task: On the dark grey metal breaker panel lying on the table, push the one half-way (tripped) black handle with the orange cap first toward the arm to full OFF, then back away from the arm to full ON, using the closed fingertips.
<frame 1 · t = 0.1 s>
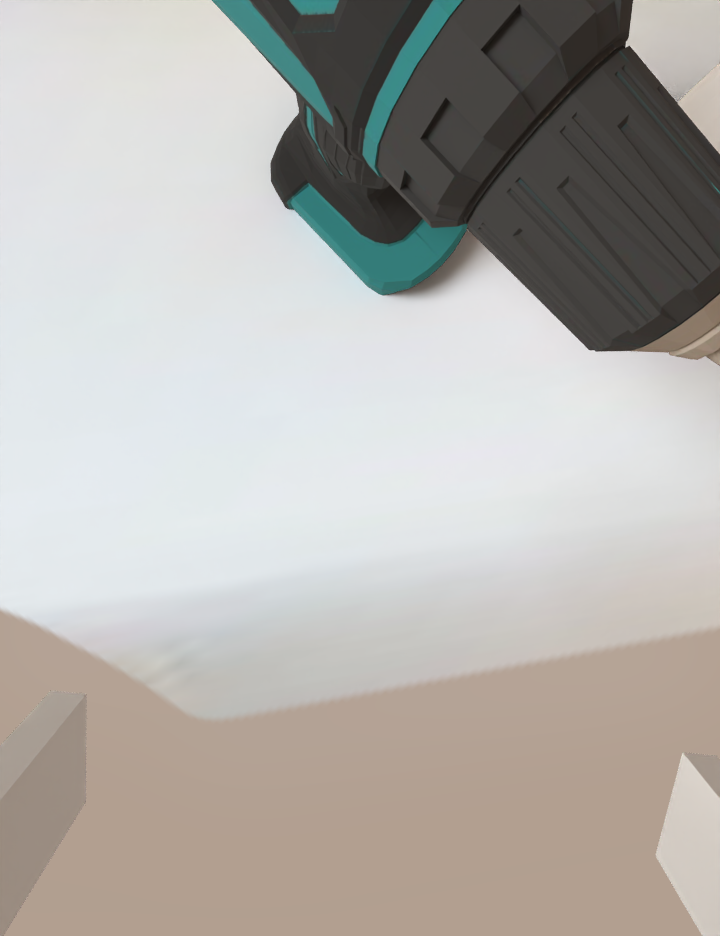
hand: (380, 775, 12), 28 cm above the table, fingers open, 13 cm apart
cup: (699, 162, 35), on the table
power drill: (392, 218, 36), on the table
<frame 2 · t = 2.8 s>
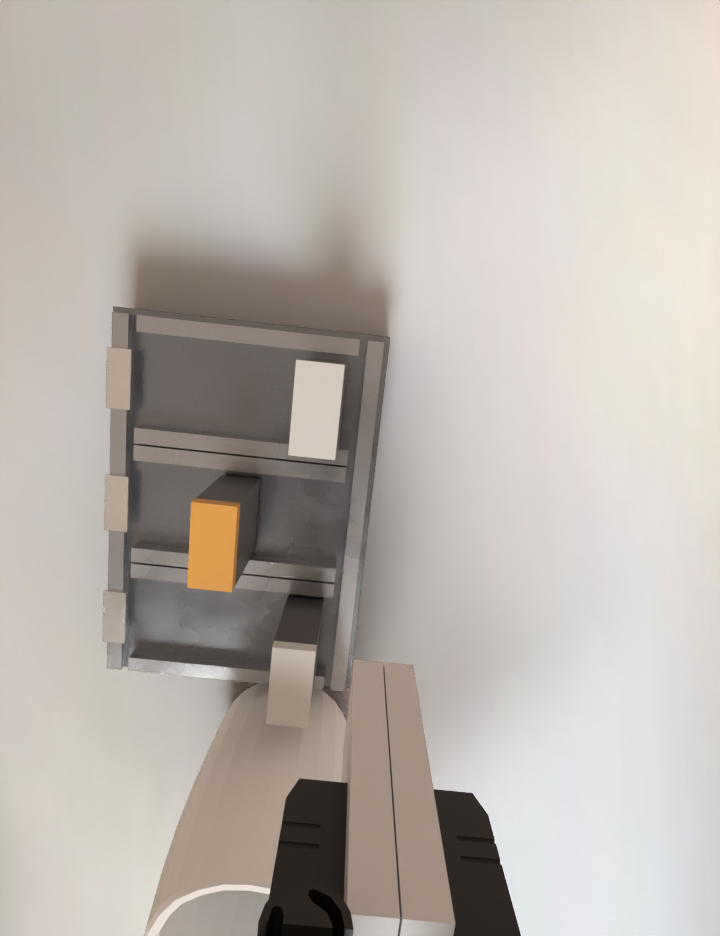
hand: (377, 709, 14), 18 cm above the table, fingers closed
cup: (288, 720, 35), on the table
panel: (249, 499, 32), on the table
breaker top: (320, 405, 25), point 5 cm above the table, slide at 4.0 cm
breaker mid: (226, 528, 27), point 6 cm above the table, slide at 0.0 cm
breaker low: (297, 657, 28), point 6 cm above the table, slide at 4.0 cm
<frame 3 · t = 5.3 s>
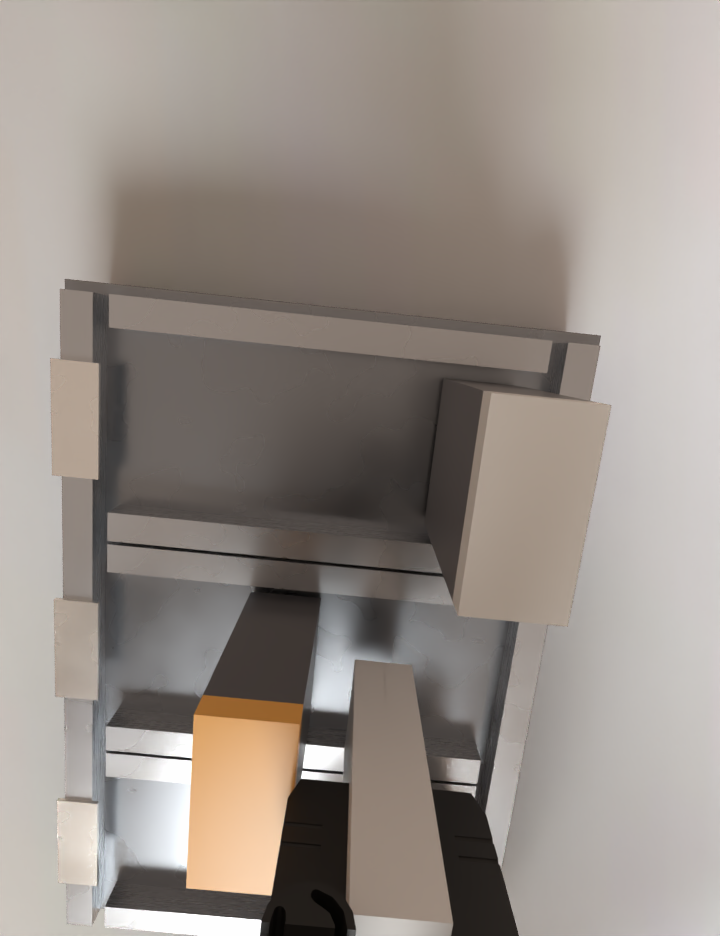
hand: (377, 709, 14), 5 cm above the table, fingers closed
panel: (311, 615, 19), on the table
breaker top: (494, 479, 12), point 6 cm above the table, slide at 4.0 cm
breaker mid: (264, 718, 13), point 6 cm above the table, slide at -0.7 cm, touching gripper
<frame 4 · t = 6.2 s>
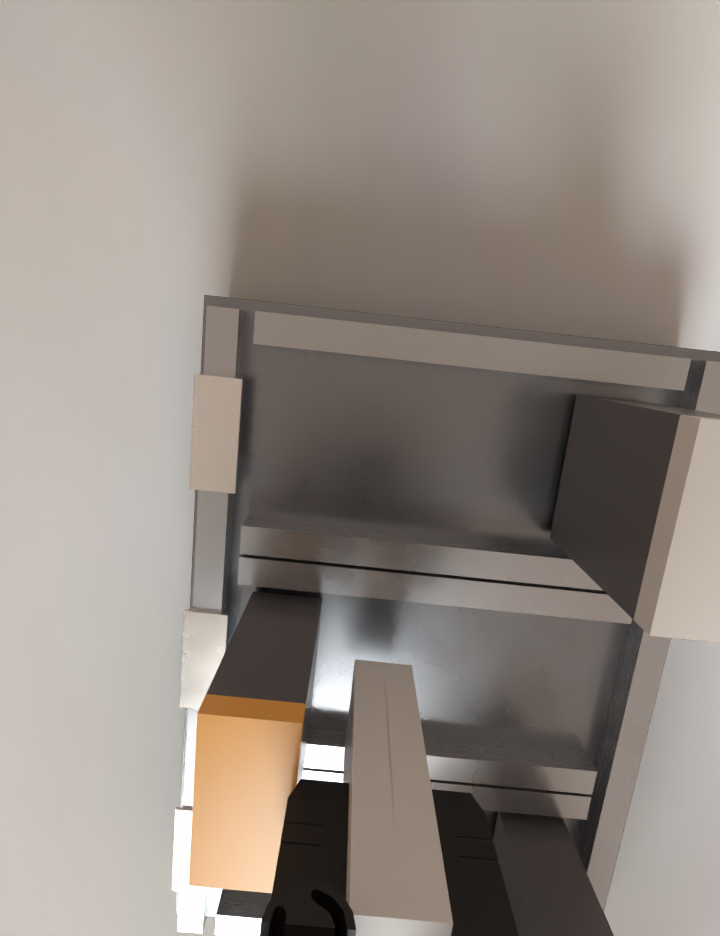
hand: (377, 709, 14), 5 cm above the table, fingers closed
panel: (413, 625, 19), on the table
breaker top: (650, 497, 12), point 5 cm above the table, slide at 4.0 cm
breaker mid: (266, 718, 13), point 5 cm above the table, slide at -4.1 cm, touching gripper
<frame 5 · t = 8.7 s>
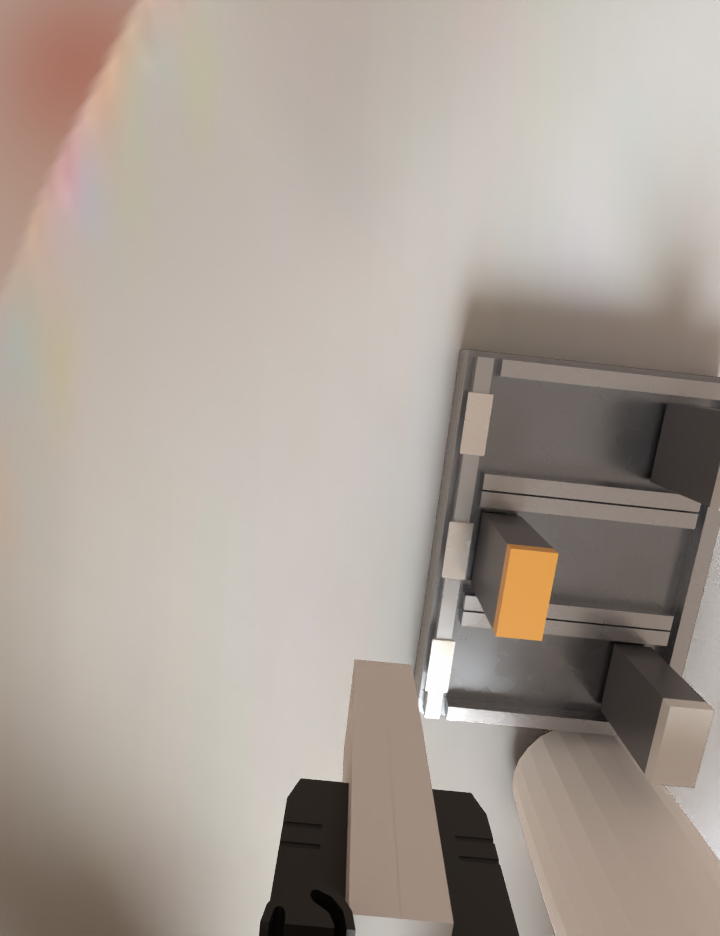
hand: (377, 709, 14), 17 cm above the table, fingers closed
cup: (568, 764, 34), on the table
panel: (556, 541, 31), on the table
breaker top: (712, 454, 25), point 5 cm above the table, slide at 4.0 cm
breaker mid: (509, 571, 26), point 6 cm above the table, slide at -4.2 cm
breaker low: (651, 709, 27), point 6 cm above the table, slide at 4.0 cm
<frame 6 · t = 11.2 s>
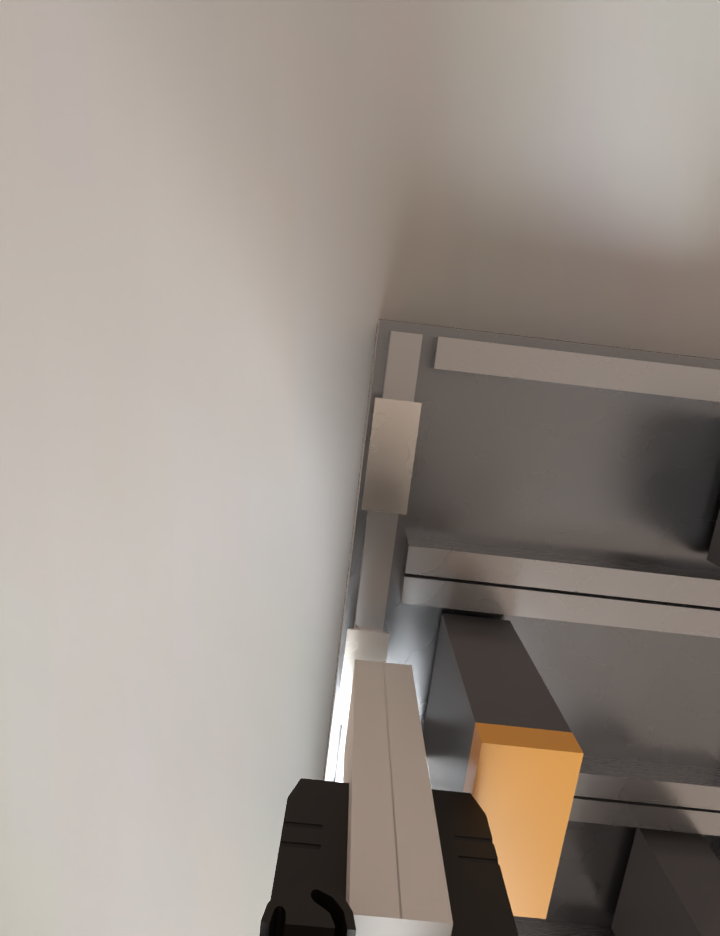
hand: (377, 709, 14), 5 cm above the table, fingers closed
panel: (541, 641, 19), on the table
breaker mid: (485, 741, 14), point 5 cm above the table, slide at -3.2 cm, touching gripper
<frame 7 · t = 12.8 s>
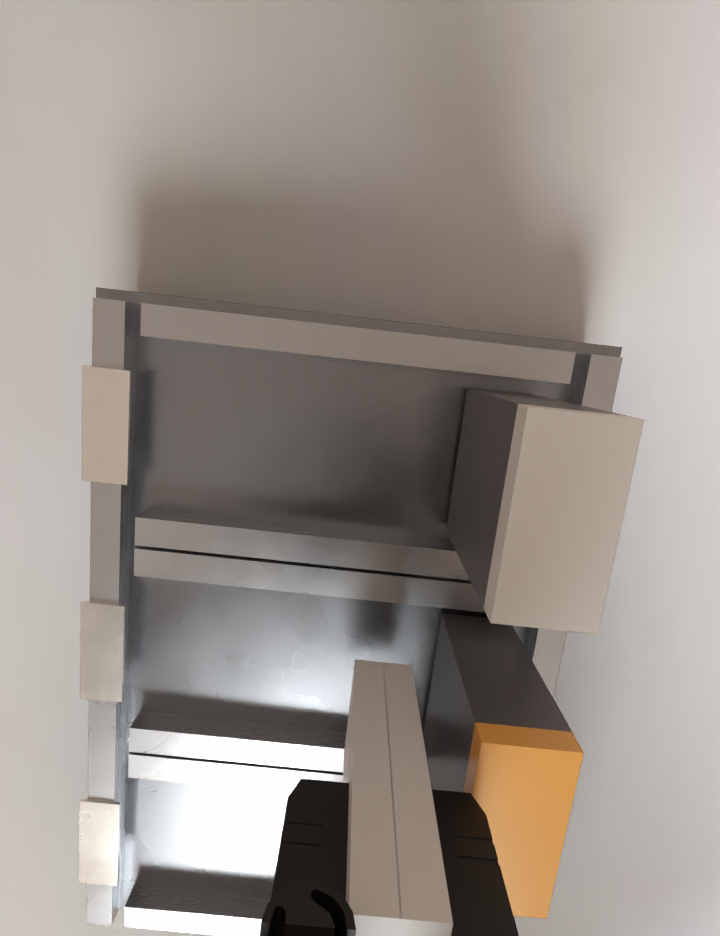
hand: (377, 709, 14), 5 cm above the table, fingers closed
panel: (329, 619, 19), on the table
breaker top: (520, 488, 12), point 5 cm above the table, slide at 4.0 cm
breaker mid: (485, 741, 14), point 5 cm above the table, slide at 4.2 cm, touching gripper
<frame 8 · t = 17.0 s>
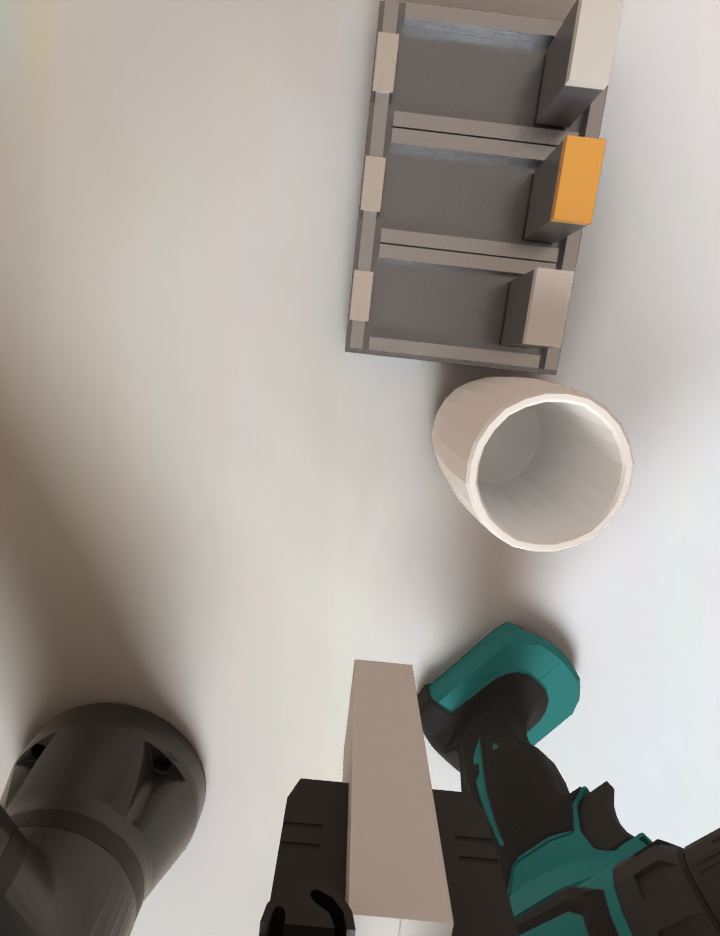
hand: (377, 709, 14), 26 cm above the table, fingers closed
cup: (483, 431, 40), on the table
power drill: (512, 676, 44), on the table
panel: (466, 210, 36), on the table
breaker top: (575, 64, 30), point 6 cm above the table, slide at 4.0 cm
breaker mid: (561, 194, 31), point 6 cm above the table, slide at 4.4 cm
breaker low: (534, 311, 32), point 6 cm above the table, slide at 4.0 cm
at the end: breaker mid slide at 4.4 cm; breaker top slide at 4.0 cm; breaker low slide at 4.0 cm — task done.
